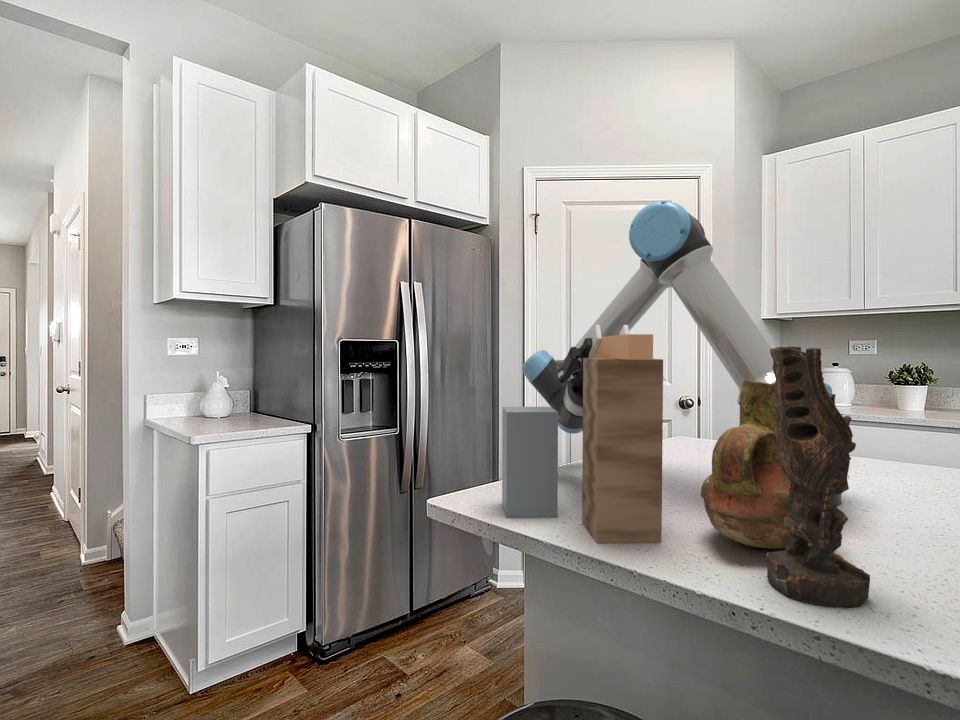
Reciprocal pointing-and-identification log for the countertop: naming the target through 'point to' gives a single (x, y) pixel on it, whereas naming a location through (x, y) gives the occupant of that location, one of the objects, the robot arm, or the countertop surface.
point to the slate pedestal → (529, 462)
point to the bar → (626, 347)
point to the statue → (812, 485)
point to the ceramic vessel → (749, 475)
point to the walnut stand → (622, 449)
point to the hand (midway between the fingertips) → (612, 331)
